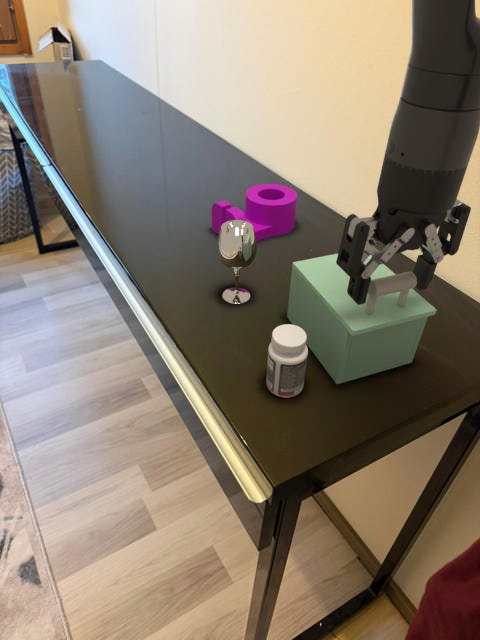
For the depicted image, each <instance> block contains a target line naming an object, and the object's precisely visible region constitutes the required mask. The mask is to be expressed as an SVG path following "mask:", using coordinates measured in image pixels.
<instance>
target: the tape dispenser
mask: <svg viewBox="0 0 480 640" xmlns="http://www.w3.org/2000/svg"><path fill="white" fill-rule="evenodd" d="M297 201H298V193H297V192H296V191H295V190H294V189H293V188H291V187H288V186H286V185H282V184H276V183H275V184H274V183H264V184H257V185H254V186H251V187H249V188H248V189H247V190H246V192H245V208H244V209H245V210H241V209H239V208H238V207H236V206H233V207H232V203H230V202H229V201H227V200H221V201H217V202H214V203H213V204H212V205H211V231H213V233H215V234H216V235H217V236H219V233H220V229H221V226H222V224H223V223H225V222H227V221H231V220H243V221H247V222H249V223H251V224H252V225H253V227H254V231H255V236H256V242H259V241H261V240H264V239H267V238H270V237H276V236H282V235H286V234H288V233H290V232H292V231H293V230H294V228H295V223H296V212H297Z"/></svg>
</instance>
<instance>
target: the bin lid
mask: <svg viewBox="0 0 480 640" xmlns="http://www.w3.org/2000/svg"><path fill="white" fill-rule="evenodd" d="M337 257H338V253H334V254H327V255H323V256H318V257H313V258H307V259H303V260H297V261H293V262H292V265H291V266H292V267H293V268H294V270H295V271H296V272H297V273H298V274H299V275H300V276H301V278H302V279H303V280H304V281H305V282H306V283H307V284H308V286H309V287H310V288H311V289H312V290H313V291H314V293H315V294H316V295H317V296H318V297H319V298H320V299H321V301H322V302H323V303H324V304H325V305H326V306H327V307H328V309H329V310H330V311H331V312H332V313H333V314H334V316H335V317H336V318H337V319H338V320H339V321H340V322H341V324H342V325H343V326H344V327H345V328H346V329H347V330H348V332H349V333H350V334H351V335H352V336H355V335H359V334H363V333H367V332H370V331H374V330H378V329H382V328H386V327H390V326H393V325H397V324H401V323H405V322H409V321H413V320H416V319H420V318H424V317H428V318H429V317H432V316H435V315H436V314H437V310H438V309H437V308H435V307H434V306H433V305H432V304H431V303H430V302H428V300H426V298H424V297H423V296H422V295H420V294H419V293H418V292H417V291H416V290H415V288H417V287H416V285H417V278H416V276H415V274H414V273H413V271H405V272H402V273H395V272H394V271H393V270H391V269H390V268H389V267H388V266H387V265H386V264H380V265H379V266H378V268H377V269H376V270H375V271H374V272H373V273H372V275H371V276H370V277H371V281H370V285H369V289H368V294H367V298H366V302H365V303H364V304H360V305H358V304H357V303H356V302H355V301H354V300H353V299H352V298H351V297H350V296H349V295H348V292H347V289H348V284H349V279H350V277H349V276H348V275H347V274H346V273H345V272H344V271H343V270H342V269H341V268H340V267H339V266H338V265H337V264H336V261H337ZM371 257H372V255H370V256H369V257H368V258H367V259H366V260H365V261H364V264H365V265H366V264H367V263H368V261H369V260H370V259H371ZM292 267H291V268H292Z"/></svg>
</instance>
